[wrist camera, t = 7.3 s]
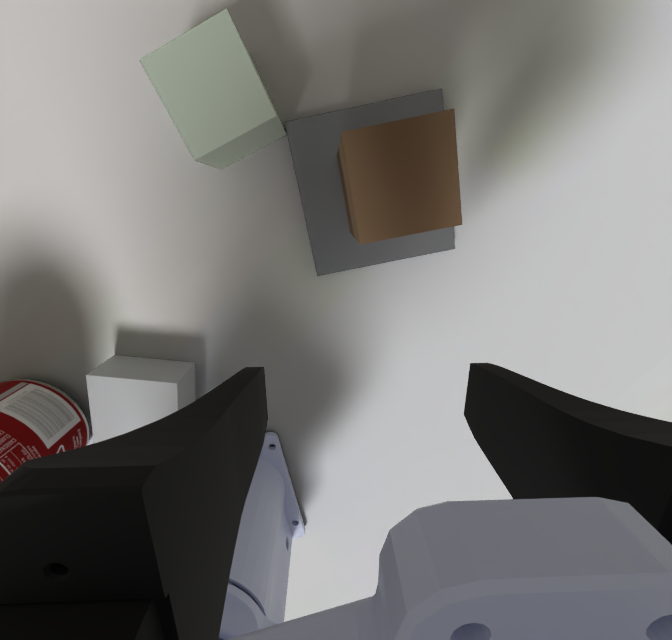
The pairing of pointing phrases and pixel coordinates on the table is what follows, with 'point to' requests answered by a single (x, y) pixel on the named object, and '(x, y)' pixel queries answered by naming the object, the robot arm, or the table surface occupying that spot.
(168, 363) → the grey plastic box
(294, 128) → the slate coaster
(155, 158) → the table surface
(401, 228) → the walnut block
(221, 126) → the sage block
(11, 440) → the soda can
